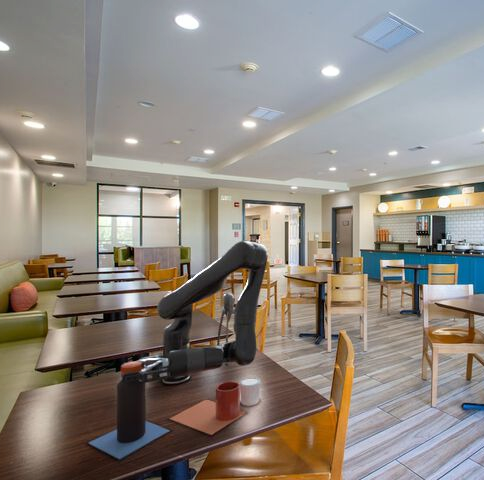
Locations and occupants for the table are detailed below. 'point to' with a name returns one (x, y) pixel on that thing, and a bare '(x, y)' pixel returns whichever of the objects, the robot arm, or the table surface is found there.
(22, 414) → the table surface
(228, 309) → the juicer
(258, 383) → the grey and white cylinder
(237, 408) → the red cup
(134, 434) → the bottle
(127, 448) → the blue mat
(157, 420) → the table surface
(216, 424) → the terracotta mat
